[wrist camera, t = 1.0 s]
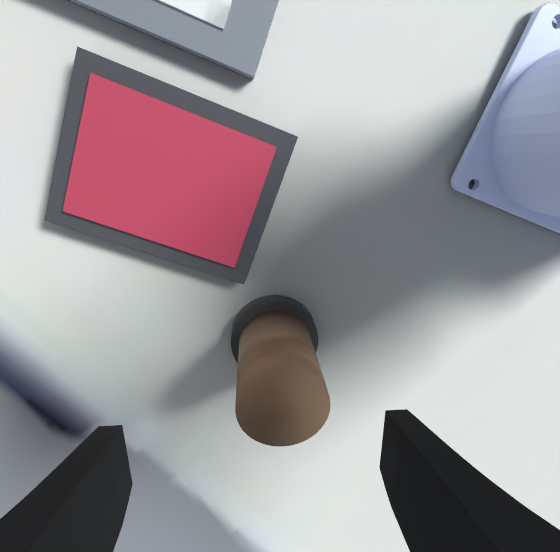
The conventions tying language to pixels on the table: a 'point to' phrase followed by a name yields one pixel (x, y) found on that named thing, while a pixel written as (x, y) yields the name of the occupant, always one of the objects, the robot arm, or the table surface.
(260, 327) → the stamp
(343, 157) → the table surface
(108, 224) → the ink pad
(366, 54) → the table surface
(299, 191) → the table surface
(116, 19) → the board
